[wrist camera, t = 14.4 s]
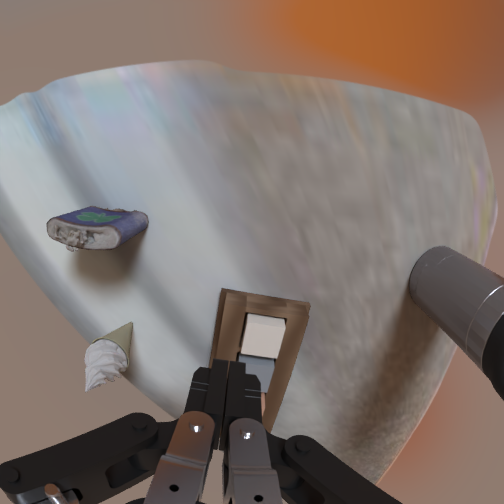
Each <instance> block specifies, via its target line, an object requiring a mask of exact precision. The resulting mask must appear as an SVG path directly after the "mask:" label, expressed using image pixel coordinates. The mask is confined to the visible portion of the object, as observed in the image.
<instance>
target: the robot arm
mask: <svg viewBox="0 0 504 504" xmlns="http://www.w3.org/2000/svg"><path fill="white" fill-rule="evenodd" d="M409 288H410V294H411V297H412V299H413V300H414V302H415V303H416V304H417V305H418V306H419V307H420V308H421V309H422V310H423V311H424V312H425V313H426V314H427V315H428V316H429V317H430V318H431V319H432V320H433V321H434V322H435V323H436V324H437V325H438V326H439V327H440V328H441V329H442V330H443V331H444V332H445V333H446V334H447V335H448V336H449V337H450V338H451V339H452V340H453V341H454V342H455V343H456V344H457V345H458V346H459V347H460V348H461V349H462V350H463V352H464V353H465V354H466V355H467V356H468V357H469V358H470V359H471V360H472V361H473V362H474V363H475V364H476V365H477V366H478V367H479V368H480V369H481V371H482V372H483V373H484V374H485V375H486V376H487V377H488V378H489V380H490V381H491V383H492V385H493V387H494V389H495V390H496V392H497V393H498V394H499V395H500V397H501V398H502V399H503V400H504V278H503V277H501V276H500V275H498V274H496V273H494V272H492V271H491V270H489V269H487V268H486V267H484V266H482V265H480V264H478V263H477V262H475V261H473V260H471V259H469V258H467V257H466V256H464V255H462V254H460V253H458V252H456V251H454V250H452V249H451V248H448V247H445V246H439V247H435V248H432V249H430V250H429V251H427V252H426V253H425V254H423V255H422V256H421V258H420V259H419V260H418V261H417V263H416V265H415V266H414V268H413V271H412V273H411V277H410V285H409ZM228 364H229V360H222V359H216V358H213V362H212V367H211V369H210V368H204V367H200V368H198V369H197V370H196V371H195V372H194V375H193V378H192V382H191V386H190V390H189V394H188V399H187V403H186V407H185V411H184V413H183V414H182V415H181V416H180V418H178V419H177V420H174V421H171V422H156V420H155V419H154V418H153V417H151V416H150V415H148V414H145V413H131V414H129V415H126V416H124V417H122V418H120V419H117V420H115V421H113V422H111V423H109V424H106V425H104V426H102V427H99V428H97V429H94V430H92V431H89V432H87V433H85V434H82V435H80V436H77V437H75V438H72V439H70V440H67V441H64V442H62V443H59V444H57V445H54V446H51V447H48V448H46V449H43V450H40V451H37V452H34V453H32V454H28V455H26V456H23V457H19V458H16V459H13V460H10V461H7V462H4V463H2V464H1V465H0V488H1V489H2V490H3V491H4V492H5V494H6V495H7V497H8V498H9V499H10V501H12V503H13V504H98V503H100V502H102V501H105V500H107V499H109V498H111V497H113V496H115V495H117V494H119V493H121V492H123V491H124V490H126V489H128V488H130V487H132V486H134V485H136V484H138V483H139V482H141V481H143V480H145V479H147V478H148V477H150V476H152V475H154V476H153V479H152V482H151V484H150V487H149V490H148V492H147V495H146V498H140V499H136V500H133V501H130V502H128V503H126V504H205V503H202V502H201V499H202V494H203V490H204V485H205V481H206V477H207V471H208V468H209V463H210V461H211V459H212V453H213V449H215V450H217V449H218V443H219V437H220V445H219V450H222V451H224V458H223V463H222V484H223V504H283V503H282V498H283V499H284V500H285V501H286V502H287V503H288V504H402V503H401V502H399V501H398V500H396V499H394V498H393V497H391V496H390V495H388V494H387V493H386V492H384V491H382V490H381V489H380V488H378V487H377V486H375V485H374V484H373V483H371V482H370V481H368V480H367V479H365V478H364V477H363V476H361V475H360V474H358V473H357V472H356V471H354V470H353V469H352V468H350V467H349V466H348V465H346V464H345V463H344V462H342V461H341V460H340V459H338V458H337V457H336V456H334V455H333V454H332V453H331V452H329V451H328V450H327V449H325V448H324V447H323V446H322V445H320V444H319V443H318V442H317V441H315V440H314V439H312V438H311V437H308V436H304V435H296V436H292V437H290V438H289V439H288V440H286V439H282V438H279V437H276V436H274V435H272V434H270V433H269V432H268V431H267V430H266V429H265V428H264V426H263V423H262V403H261V382H260V381H259V379H258V377H257V376H256V375H254V374H246V363H244V362H237V361H230V364H229V370H228ZM227 373H228V376H227ZM220 431H221V435H220ZM281 497H282V498H281Z"/></svg>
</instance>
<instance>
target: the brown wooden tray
mask: <svg viewBox="0 0 504 504" xmlns="http://www.w3.org/2000/svg"><path fill="white" fill-rule="evenodd" d="M310 307H311V306H310V303H308V302H302V301H295V300H289V299H283V298H276V297H270V296H264V295H258V294H253V293H247V292H241V291H235V290H230V289H224V288H222V290H221V296H220V302H219V308H218V314H217V320H216V327H215V333H214V339H213V346H212V352H211V359H210V365H209V368H210V369H211V367H212V362H213V358H216V359H222V360H229V364H230V361H237V359H238V354H239V352H241V341H242V335H243V330H244V325H245V321H246V316H247V312H250V313H256V314H262V315H268V316H275V317H281V318H284V322H285V327H286V329H285V332H284V336H283V340H282V343H281V347H280V350H279V354H278V357H277V358H274V366H275V368H274V371H273V374H272V378H271V381H270V385H269V388H268V391H267V393H265V392H264V393H265V410H264V413H263V416H262V423H263V426H264V428H265V429H266V430H267V431H268V432H269V433H271V430H272V427H273V425H274V422H275V419H276V416H277V414H278V411H279V408H280V405H281V403H282V400H283V397H284V394H285V391H286V388H287V385H288V382H289V379H290V376H291V373H292V370H293V367H294V364H295V361H296V358H297V355H298V352H299V349H300V346H301V342H302V339H303V336H304V333H305V329H306V326H307V323H308V319H309V315H308V314H309V310H310ZM229 364H228V370H229ZM227 376H228V373H227ZM220 435H221V431H220Z"/></svg>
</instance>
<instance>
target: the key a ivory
mask: <svg viewBox="0 0 504 504" xmlns="http://www.w3.org/2000/svg"><path fill="white" fill-rule="evenodd" d="M285 329H286V327H285V322H284V318H281V317H275V316H268V315H262V314H256V313H250V312H247V316H246V321H245V325H244V330H243V335H242V341H241V353H242V354H248V355H255V356H262V357H269V358H277V357H278V354H279V350H280V347H281V343H282V340H283V336H284V332H285Z"/></svg>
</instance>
